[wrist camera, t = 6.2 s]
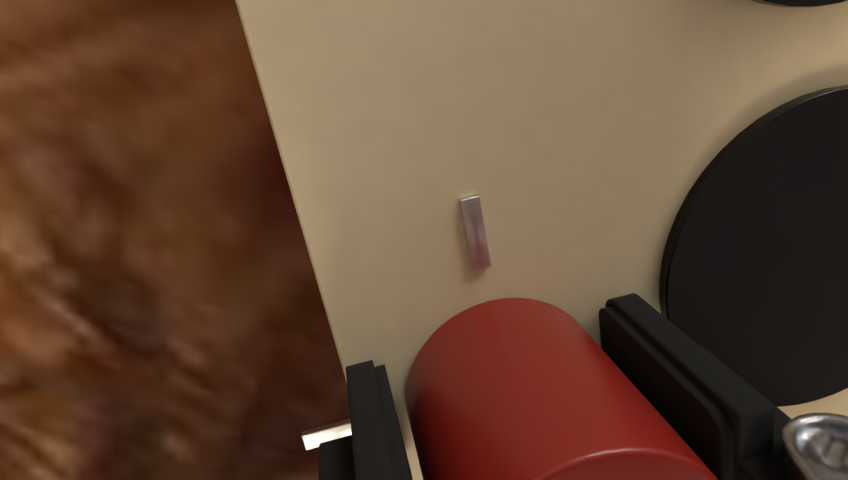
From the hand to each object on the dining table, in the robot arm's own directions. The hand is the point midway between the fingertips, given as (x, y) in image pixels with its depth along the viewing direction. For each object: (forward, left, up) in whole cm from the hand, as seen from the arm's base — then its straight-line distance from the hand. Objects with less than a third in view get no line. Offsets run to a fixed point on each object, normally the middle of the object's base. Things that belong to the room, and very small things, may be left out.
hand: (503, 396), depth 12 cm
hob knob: (0, 0, 0) cm, 0 cm away
